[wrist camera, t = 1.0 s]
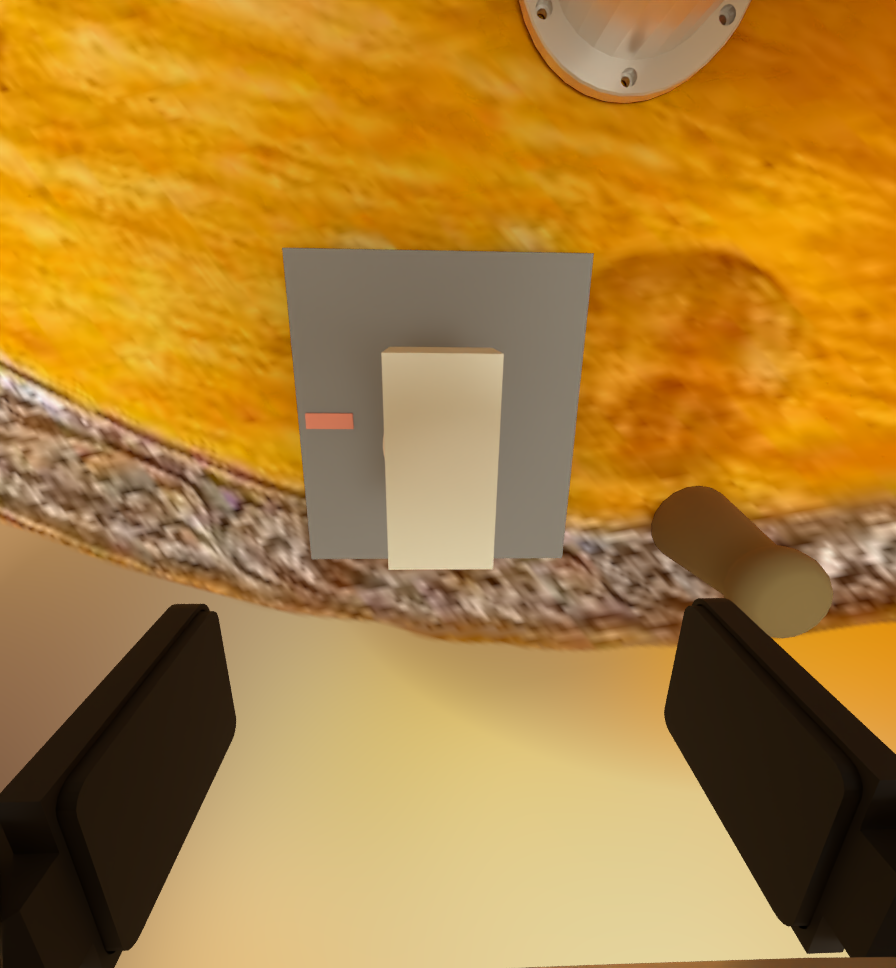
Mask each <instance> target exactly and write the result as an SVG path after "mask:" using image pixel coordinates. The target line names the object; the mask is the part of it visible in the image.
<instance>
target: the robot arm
mask: <svg viewBox="0 0 896 968" xmlns="http://www.w3.org/2000/svg"><path fill="white" fill-rule="evenodd" d="M750 2H751V0H519V3H520V7H521V11H522V15H523V18H524V22H525V24H526V27H527V29H528V31H529V33H530V36H531V38H532V40H533V42H534V45H535V47H536V48H537V49H538V51H539V52H540V54H541V55H542V57H543V58H544V60H545V61H546V63H547V64H548V66H549V67H550V68H551V69H552V70H553V71H554V72H555V73H556V74H557V75H558V76H559V77H560V78H561V79H562V80H563V81H564V82H565V83H567V84H568V85H570V86H572V87H573V88H575V89H577V90H578V91H580V92H581V93H583V94H585V95H588V96H591V97H594V98H596V99H599V100H602V101H607V102H619V103H630V102H637V101H644V100H649V99H651V98H654V97H657V96H659V95H662V94H665V93H667V92H669V91H671V90H673V89H674V88H676V87H677V86H679V85H681V84H682V83H684V82H685V81H687V80H689V79H690V78H691V77H692V76H693V75H694V74H695V73H697V72H698V71H699V70H700V69H701V68H702V67H704V66H705V65H706V64H707V63H708V62H709V61H710V60H711V59H712V58H713V57H714V56H715V54H716V53H717V52H718V51H719V50H720V49H721V48H722V47H723V46H724V45H725V44H726V42H727V41H728V39H729V38H730V37H731V35H732V34H733V32H734V31H735V30H736V28H737V27H738V25H739V23H740V22H741V20H742V18H743V16H744V14H745V12H746V10H747V8H748V6H749V4H750ZM540 13H541V14H543V15H544V17H545V19H544V20H543V19H541V18H539V17H538V16H537V14H540ZM719 20H720V21H719ZM621 80H623V81H625V82H626V85H627V87H624V86H623V85H622V83H621ZM664 715H665V721H666V725H667V728H668V730H669V732H670V733H671V735H672V737H673V739H674V740H675V742H676V744H677V745H678V747H679V749H680V751H681V752H682V754H683V756H684V758H685V759H686V761H687V763H688V765H689V766H690V768H691V770H692V771H693V773H694V775H695V777H696V778H697V780H698V781H699V783H700V785H701V787H702V789H703V790H704V792H705V794H706V796H707V797H708V799H709V801H710V802H711V804H712V806H713V807H714V809H715V811H716V813H717V815H718V816H719V818H720V820H721V822H722V823H723V825H724V827H725V828H726V830H727V832H728V834H729V835H730V837H731V839H732V840H733V842H734V844H735V846H736V847H737V849H738V851H739V853H740V854H741V856H742V858H743V859H744V861H745V863H746V865H747V866H748V868H749V870H750V871H751V873H752V875H753V877H754V878H755V880H756V882H757V884H758V885H759V887H760V889H761V891H762V892H763V894H764V896H765V897H766V899H767V901H768V902H769V904H770V906H771V908H772V910H773V911H774V913H775V914H776V916H777V917H778V919H779V920H780V921H781V922H782V923H783V924H785V925H786V926H791V927H792V929H793V931H794V933H795V934H796V936H797V938H798V939H799V941H800V942H801V944H802V946H803V947H804V949H805V951H806V953H807V954H808V953H809V954H810V953H836V952H843V950H844V949H845V950H846V952H847V953H848V955H849V956H850V958H791V959H759V960H730V961H729V960H728V961H700V962H699V961H697V962H668V963H636V964H609V965H608V964H607V965H583V966H581V965H580V966H557V967H556V966H555V967H529V968H896V754H895V753H894V752H893V751H891V750H890V749H889V748H888V747H887V746H886V745H885V744H884V743H883V742H882V741H881V740H880V739H879V738H878V737H876V736H875V735H874V734H873V733H872V732H871V731H870V730H869V729H868V728H867V727H866V726H865V725H864V724H863V723H862V722H860V721H859V720H858V719H857V718H856V717H855V716H854V715H853V714H852V713H851V712H850V711H849V710H847V708H846V707H844V706H843V705H842V704H841V703H840V702H839V701H838V700H837V699H836V698H835V697H834V696H833V695H832V694H831V693H829V692H828V691H827V690H826V689H825V688H824V687H823V686H822V685H821V684H820V683H819V682H818V681H817V680H816V679H815V678H813V677H812V676H811V675H810V674H809V673H808V672H807V671H806V670H805V669H804V668H803V667H802V666H800V665H799V664H798V663H797V662H796V661H795V660H794V659H793V658H792V657H791V656H790V655H789V654H788V653H787V652H786V651H785V650H784V649H782V648H781V647H780V646H779V645H778V644H777V643H776V642H775V641H774V640H773V639H772V638H771V637H770V636H769V635H768V634H766V633H765V632H764V631H763V630H762V629H761V628H760V627H759V626H758V625H757V624H756V623H755V622H754V621H753V620H751V619H750V618H749V617H748V616H747V615H746V614H745V613H744V612H743V611H742V610H741V609H740V608H739V607H738V606H737V605H735V604H734V603H733V602H732V601H731V600H729V599H726V598H699V599H696V600H695V601H694V602H693V604H692V606H688V607H687V608H686V609H685V612H684V616H683V621H682V626H681V631H680V636H679V641H678V645H677V650H676V655H675V661H674V665H673V670H672V675H671V680H670V685H669V690H668V695H667V699H666V705H665V710H664ZM235 728H236V715H235V710H234V704H233V698H232V693H231V687H230V681H229V675H228V669H227V664H226V658H225V653H224V647H223V641H222V636H221V630H220V624H219V619H218V615H217V613H216V612H214V611H209V608H208V607H207V605H205V604H175V605H172V606H171V607H169V608H168V609H167V610H166V612H165V613H164V614H163V615H162V616H161V617H160V618H159V619H158V620H157V621H156V622H155V624H154V625H153V626H152V627H151V628H150V629H149V630H148V631H147V632H146V633H145V634H144V636H143V637H142V638H141V639H140V640H139V641H138V642H137V643H136V645H135V646H134V647H133V648H132V649H131V650H130V651H129V652H128V653H127V654H126V655H125V657H124V658H123V659H122V660H121V661H120V662H119V663H118V664H117V665H116V666H115V667H114V669H113V670H112V671H111V672H110V673H109V674H108V675H107V676H106V677H105V679H104V680H103V681H102V682H101V683H100V684H99V685H98V686H97V687H96V689H95V690H94V691H93V692H92V693H91V694H90V695H89V696H88V697H87V698H86V699H85V701H84V702H83V703H82V704H81V705H80V706H79V707H78V708H77V709H76V710H75V712H74V713H73V714H72V715H71V716H70V717H69V718H68V719H67V720H66V722H65V723H64V724H63V725H62V726H61V727H60V728H59V729H58V730H57V731H56V733H55V734H54V735H53V736H52V737H51V738H50V739H49V740H48V741H47V742H46V744H45V745H44V746H43V747H42V748H41V749H40V750H39V751H38V752H37V753H36V754H35V756H34V757H33V758H32V759H31V760H30V761H29V762H28V763H27V764H26V765H25V767H24V768H23V769H22V770H21V771H20V772H19V773H18V774H17V775H16V776H15V778H14V779H13V780H12V781H11V782H10V783H9V784H8V785H7V786H6V788H5V789H4V790H3V791H2V792H1V793H0V968H114V967H115V965H116V963H117V961H118V959H119V957H120V955H121V952H122V951H125V950H129V949H131V948H132V947H133V945H134V944H135V943H136V941H137V940H138V938H139V936H140V934H141V932H142V930H143V928H144V926H145V924H146V921H147V919H148V917H149V915H150V913H151V911H152V909H153V907H154V904H155V902H156V900H157V898H158V896H159V894H160V892H161V890H162V888H163V885H164V883H165V881H166V879H167V877H168V874H169V873H170V871H171V869H172V866H173V864H174V862H175V860H176V858H177V856H178V853H179V851H180V849H181V847H182V845H183V843H184V841H185V839H186V837H187V834H188V832H189V830H190V828H191V826H192V824H193V822H194V820H195V818H196V815H197V813H198V811H199V809H200V807H201V805H202V803H203V801H204V799H205V797H206V794H207V792H208V790H209V788H210V786H211V784H212V782H213V780H214V777H215V775H216V773H217V771H218V769H219V767H220V765H221V763H222V760H223V758H224V756H225V754H226V752H227V750H228V748H229V746H230V743H231V741H232V739H233V736H234V733H235Z"/></svg>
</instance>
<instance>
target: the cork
mask: <svg viewBox="0 0 896 968" xmlns="http://www.w3.org/2000/svg"><path fill="white" fill-rule="evenodd" d="M652 538H653V540H654V543H655V545H656V546H657V548H658V549H659V550H660V551H661V552H662V553H663V554H665V555H666V556H668V557H669V558H671V559H672V560H673V561H675V562H676V563H678V564H679V565H681V566H682V567H684V568H685V569H687V570H688V571H690V572H691V573H692V574H694V575H695V576H697V577H698V578H700V579H701V580H703V581H704V582H706V583H707V584H709V585H710V586H711V587H713V588H714V589H716V590H717V591H719V592H720V593H722V594H723V595H724V598H726V599H729V600H731V601H732V602H733V603H734V604H735V605H737V606H738V607H739V608H740V609H741V610H742V611H743V612H744V613H745V614H746V615H747V616H748V617H749V618H750V619H751V620H753V621H754V622H755V623H756V624H757V625H758V626H759V627H760V628H761V629H762V630H763V631H764V632H765V633H766V634H768V635H769V636H770V637H776V638H788V637H794V636H797V635H800V634H802V633H805V632H807V631H808V630H810V629H811V628H813V627H814V626H816V625H817V624H818V623H819V622H820V621H821V620H822V619H823V618H824V617H825V616H826V614H827V612H828V610H829V608H830V606H831V604H832V598H833V590H832V586H831V582H830V578H829V576H828V575H827V573H826V572H825V571H824V569H823V568H822V567H821V566H820V564H819V563H818V562H817V561H816V560H814V559H813V558H811V557H809V556H808V555H806V554H804V553H802V552H800V551H799V550H796V549H793V548H790V547H785V546H778V545H776V544H775V543H774V542H773V541H772V540H771V539H770V538H768V537H767V536H766V535H765V534H764V533H763V532H762V531H761V530H760V529H759V528H758V527H757V526H756V525H755V524H753V523H752V522H751V521H750V520H749V519H748V518H747V517H746V516H745V515H744V514H743V513H742V512H741V511H740V510H739V509H737V508H736V507H735V506H734V505H733V504H732V503H731V502H730V501H729V500H728V499H727V498H726V497H725V496H724V495H722V494H721V493H720V492H718V491H716V490H714V489H712V488H709V487H703V486H695V487H687V488H684V489H682V490H680V491H678V492H675V493H673V494H672V495H671V496H670V497H668V498H667V499H666V500H665V501H663V503H662V504H661V505H660V507H659V508H658V510H657V511H656V513H655V515H654V518H653V521H652Z"/></svg>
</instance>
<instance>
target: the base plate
mask: <svg viewBox="0 0 896 968" xmlns="http://www.w3.org/2000/svg"><path fill="white" fill-rule="evenodd" d="M282 250H283V261H284V271H285V282H286V293H287V303H288V314H289V324H290V335H291V346H292V356H293V367H294V378H295V388H296V399H297V409H298V420H299V431H300V441H301V452H302V462H303V473H304V484H305V494H306V505H307V516H308V526H309V537H310V547H311V558H312V559H388V537H387V507H386V477H385V458H384V454H383V436H384V417H383V387H382V357H381V352H383V351H384V350H386V349H387V348H388V347H468V348H494V349H495V350H497V351H499V352H501V353H503V354H504V360H503V380H502V400H501V420H500V440H499V460H498V480H497V500H496V519H495V539H494V558H562V552H563V542H564V533H565V523H566V513H567V504H568V494H569V485H570V475H571V466H572V456H573V446H574V437H575V427H576V418H577V408H578V398H579V389H580V379H581V370H582V360H583V351H584V341H585V331H586V322H587V312H588V303H589V293H590V284H591V274H592V264H593V255H594V253H541V252H486V251H431V250H375V249H320V248H282Z"/></svg>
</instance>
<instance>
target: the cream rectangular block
mask: <svg viewBox="0 0 896 968" xmlns="http://www.w3.org/2000/svg"><path fill="white" fill-rule="evenodd" d="M381 357H382V387H383V417H384V436H383V454H384V458H385V477H386V507H387V537H388V567H389V570H416V569H493V559H494V539H495V519H496V500H497V480H498V460H499V440H500V420H501V400H502V380H503V360H504V354H503V353H501V352H499V351H497V350H495V349H494V348H468V347H388V348H387V349H386V350H384V351H383V352H381Z"/></svg>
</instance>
